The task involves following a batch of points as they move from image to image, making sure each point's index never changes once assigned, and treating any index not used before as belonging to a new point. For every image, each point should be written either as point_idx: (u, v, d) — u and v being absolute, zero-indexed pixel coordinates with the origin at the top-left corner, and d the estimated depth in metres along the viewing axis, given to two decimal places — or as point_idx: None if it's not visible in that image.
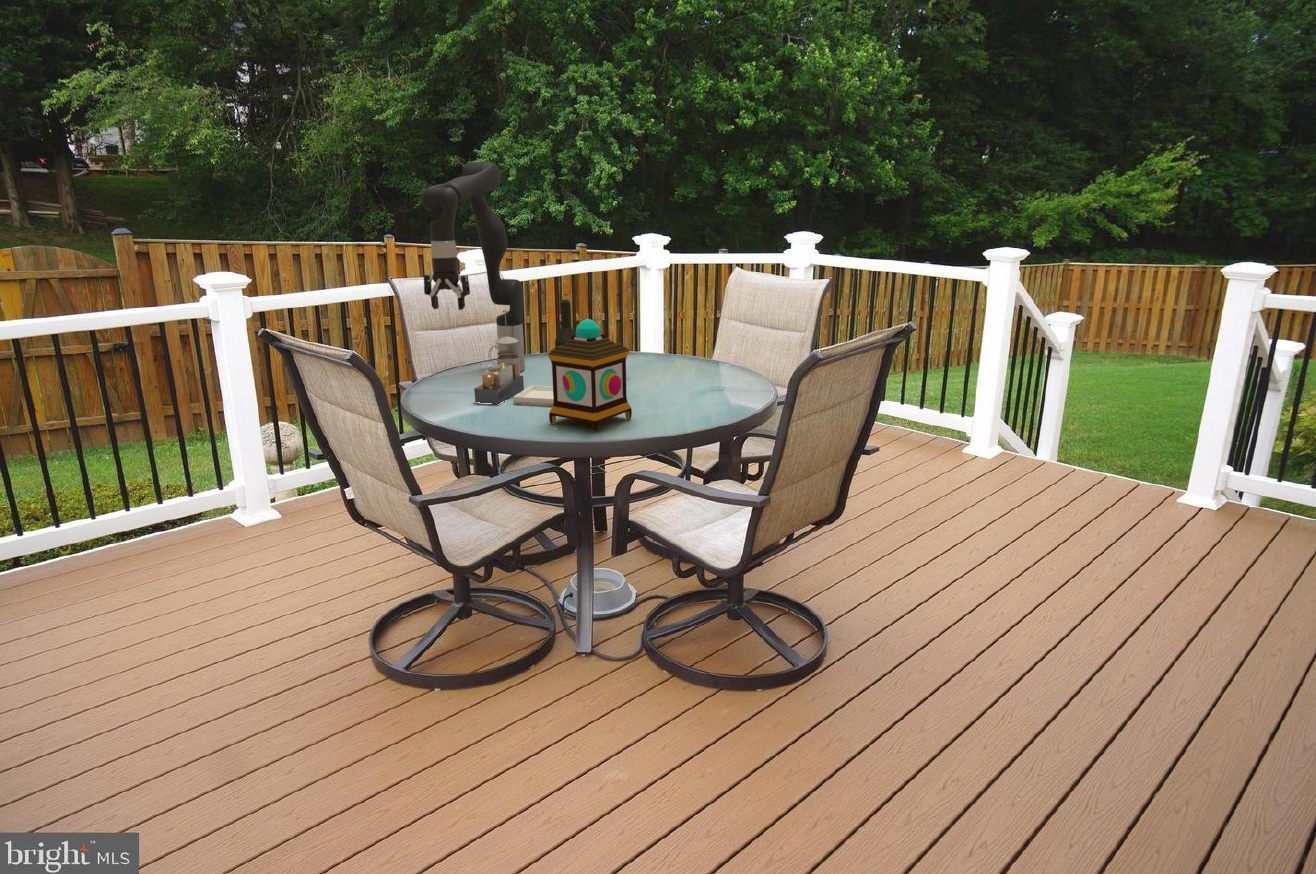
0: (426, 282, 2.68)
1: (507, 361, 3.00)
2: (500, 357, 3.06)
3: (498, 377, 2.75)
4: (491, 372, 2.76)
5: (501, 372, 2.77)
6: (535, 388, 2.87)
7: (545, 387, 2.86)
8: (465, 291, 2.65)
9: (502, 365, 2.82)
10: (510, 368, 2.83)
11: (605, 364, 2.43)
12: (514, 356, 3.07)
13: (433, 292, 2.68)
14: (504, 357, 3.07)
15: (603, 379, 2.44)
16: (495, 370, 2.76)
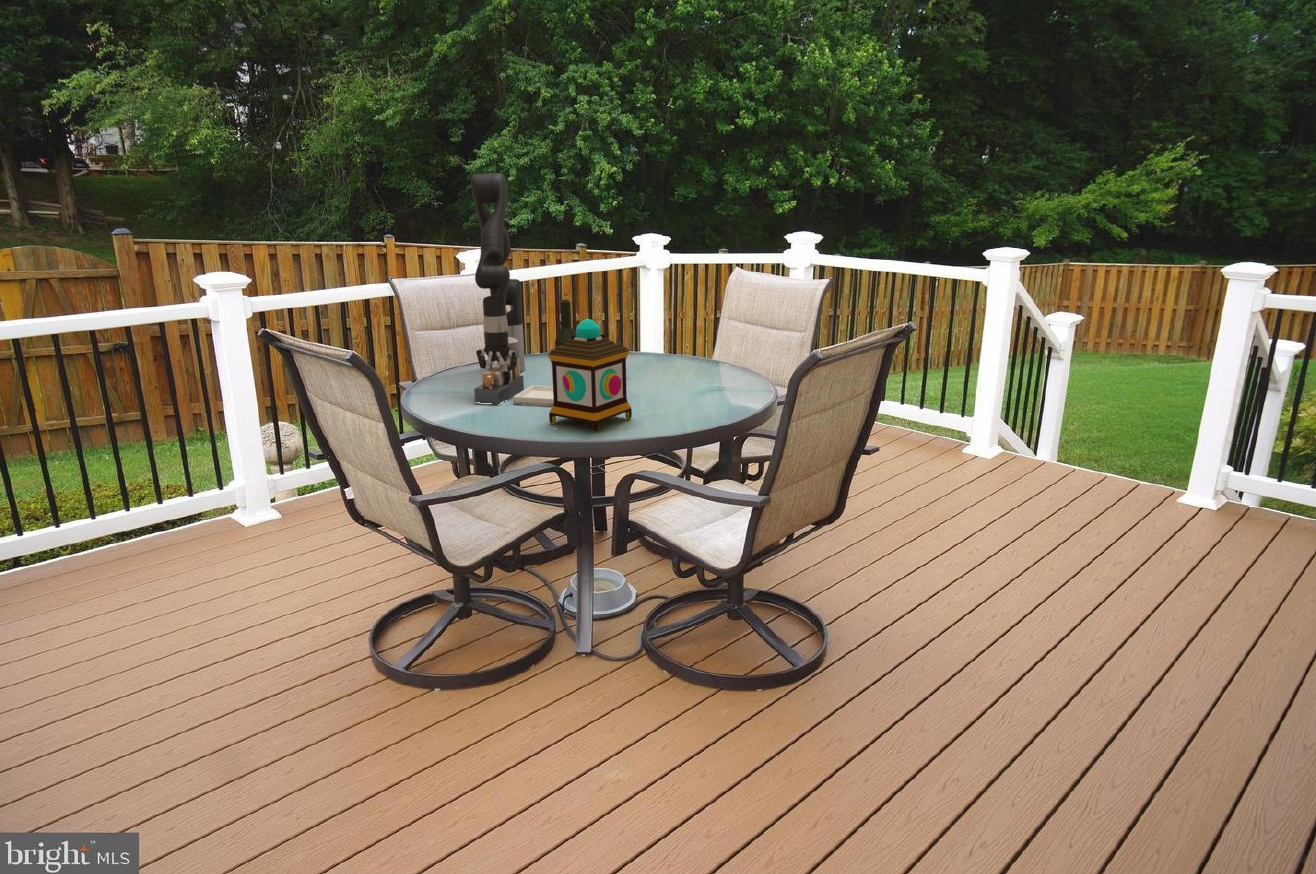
0: (479, 356, 2.79)
1: None
2: None
3: (497, 377, 2.76)
4: (491, 372, 2.76)
5: (500, 372, 2.77)
6: (535, 388, 2.87)
7: (545, 387, 2.86)
8: (511, 366, 2.77)
9: None
10: None
11: (605, 364, 2.43)
12: None
13: (488, 366, 2.79)
14: None
15: (603, 379, 2.44)
16: (494, 370, 2.76)
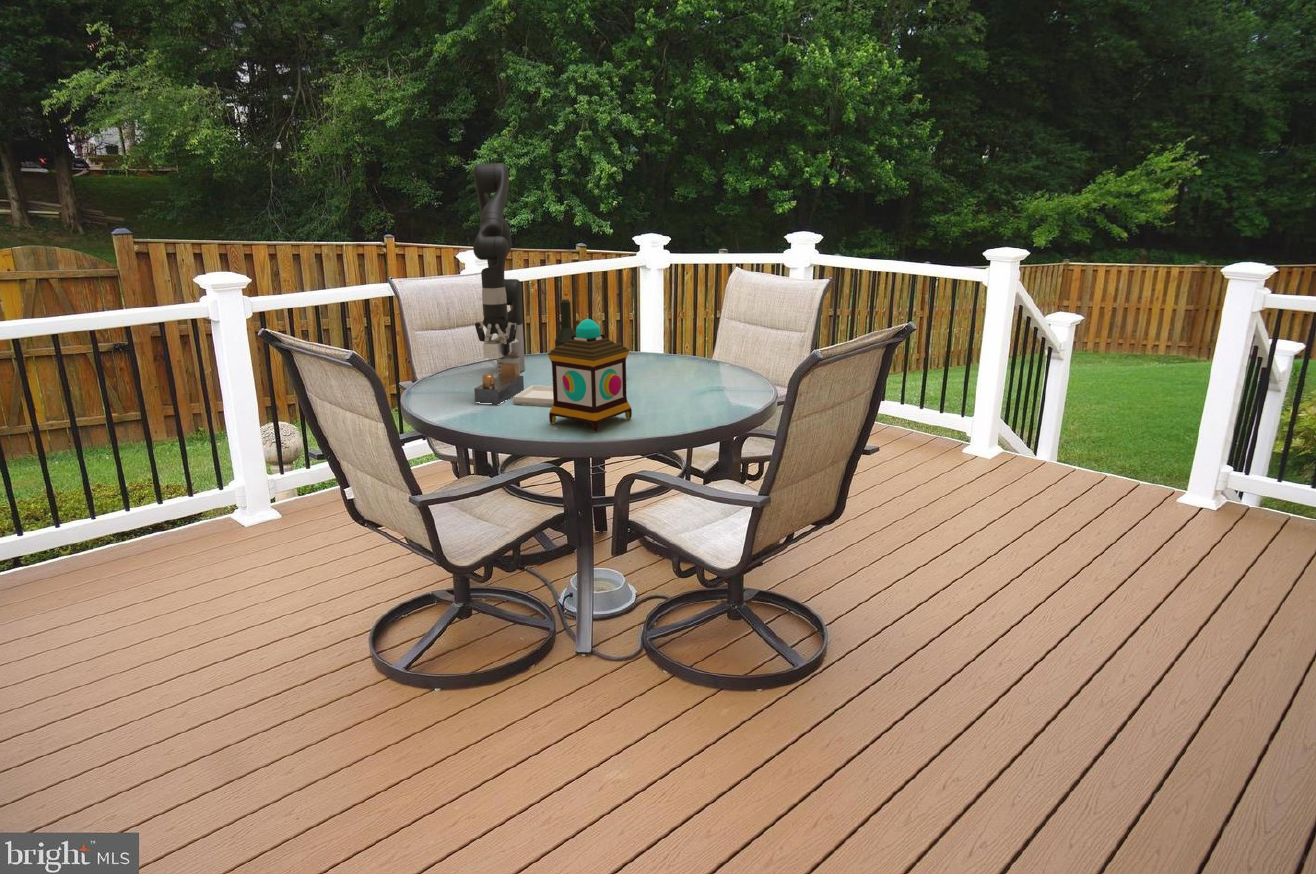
0: (478, 329, 2.77)
1: (507, 361, 3.00)
2: None
3: (497, 350, 2.73)
4: (490, 344, 2.73)
5: (500, 345, 2.74)
6: (535, 388, 2.87)
7: (545, 387, 2.86)
8: (510, 338, 2.75)
9: (501, 338, 2.79)
10: None
11: (605, 364, 2.43)
12: (514, 356, 3.07)
13: (487, 338, 2.77)
14: (504, 357, 3.07)
15: (603, 379, 2.44)
16: (493, 342, 2.73)
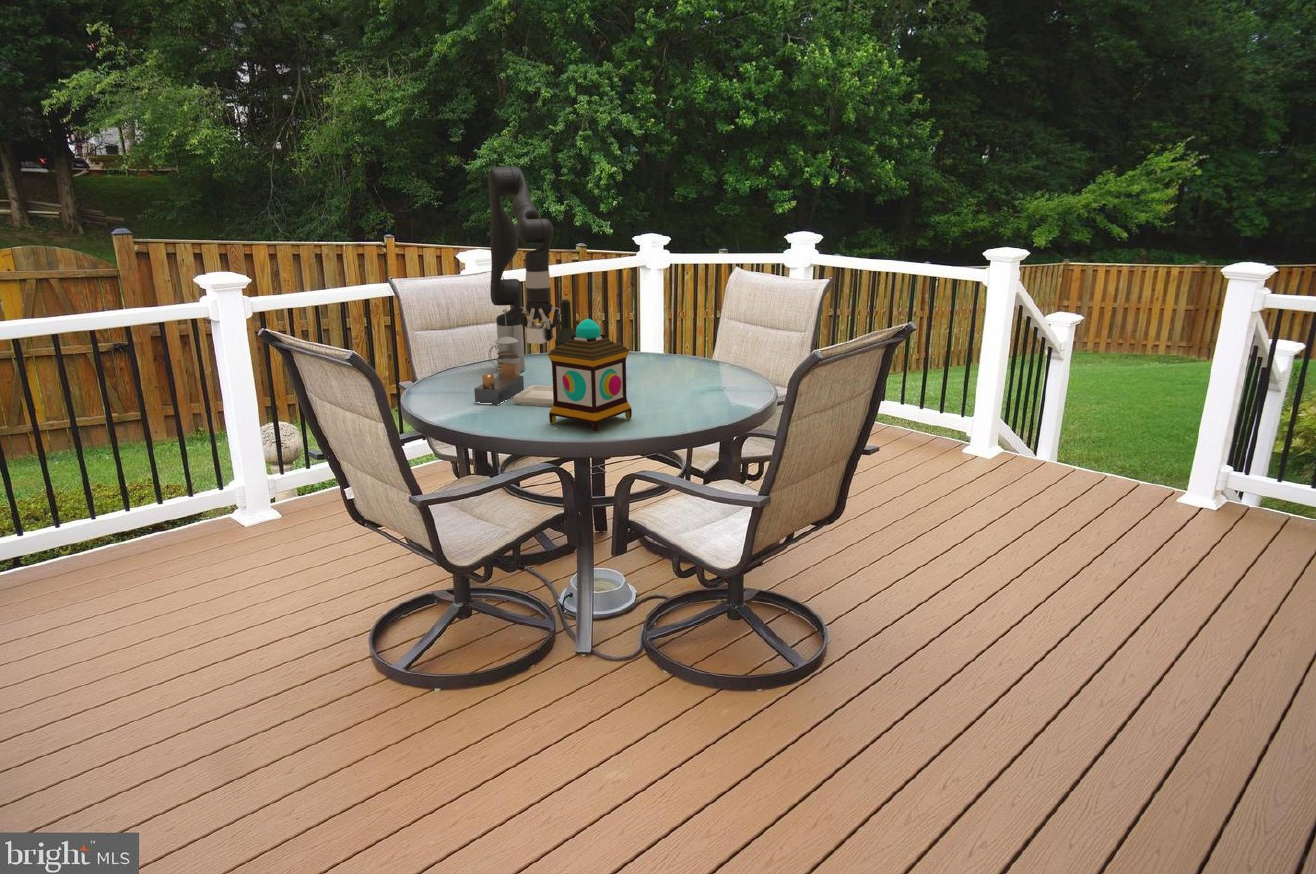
0: (521, 314, 2.72)
1: (507, 361, 3.00)
2: (500, 357, 3.06)
3: (540, 334, 2.68)
4: (533, 329, 2.68)
5: (543, 329, 2.69)
6: (535, 388, 2.87)
7: (545, 387, 2.86)
8: (554, 323, 2.70)
9: (543, 323, 2.74)
10: None
11: (605, 364, 2.43)
12: (514, 356, 3.07)
13: (530, 323, 2.72)
14: (504, 357, 3.07)
15: (603, 379, 2.44)
16: (537, 327, 2.68)
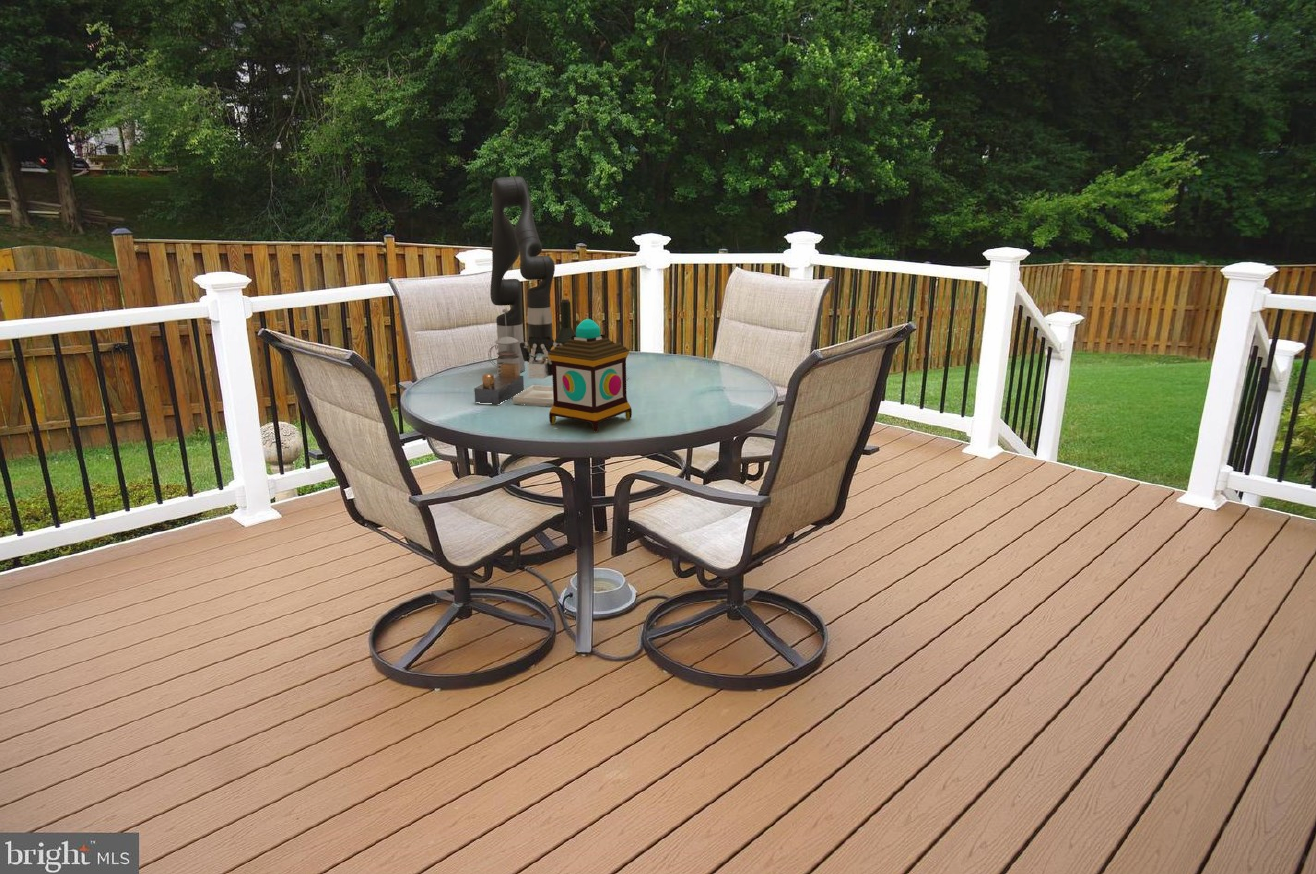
0: (523, 349, 2.75)
1: (507, 361, 3.00)
2: (500, 357, 3.06)
3: (542, 370, 2.71)
4: (535, 364, 2.71)
5: (545, 365, 2.72)
6: (535, 388, 2.87)
7: (545, 387, 2.86)
8: None
9: (545, 358, 2.77)
10: None
11: (605, 364, 2.43)
12: (514, 356, 3.07)
13: (532, 358, 2.75)
14: (504, 357, 3.07)
15: (603, 379, 2.44)
16: (539, 363, 2.71)
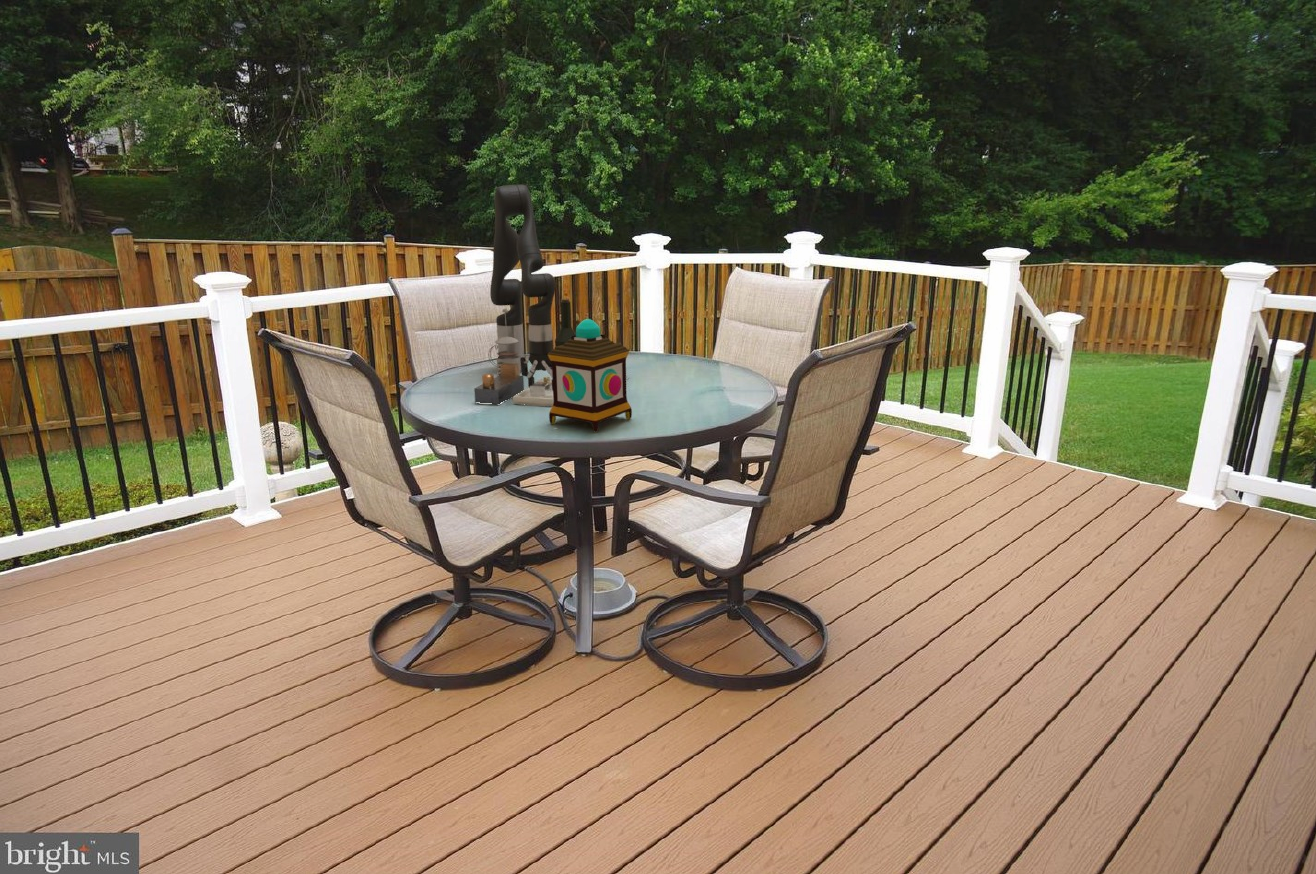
0: (523, 364, 2.76)
1: (507, 361, 3.00)
2: (500, 357, 3.06)
3: (543, 392, 2.73)
4: (537, 386, 2.73)
5: (546, 387, 2.74)
6: None
7: None
8: None
9: (546, 379, 2.79)
10: None
11: (605, 364, 2.43)
12: (514, 356, 3.07)
13: (530, 373, 2.77)
14: (504, 357, 3.07)
15: (603, 379, 2.44)
16: (540, 385, 2.73)
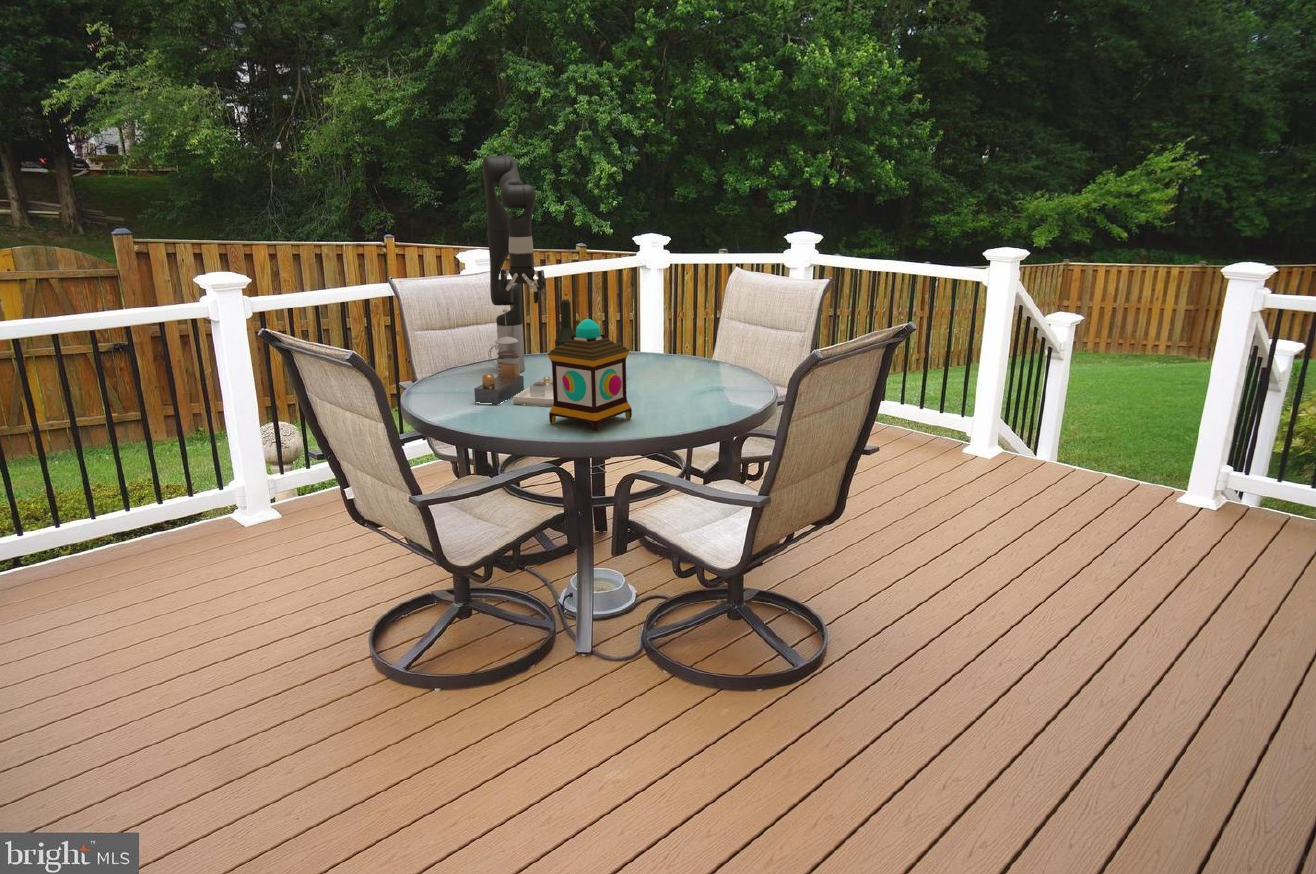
0: (503, 276, 2.77)
1: (507, 361, 3.00)
2: (500, 357, 3.06)
3: (543, 392, 2.73)
4: (537, 386, 2.73)
5: (546, 387, 2.74)
6: None
7: None
8: (541, 285, 2.75)
9: (546, 379, 2.79)
10: None
11: (605, 364, 2.43)
12: (514, 356, 3.07)
13: (509, 286, 2.77)
14: (504, 357, 3.07)
15: (603, 379, 2.44)
16: (540, 385, 2.73)
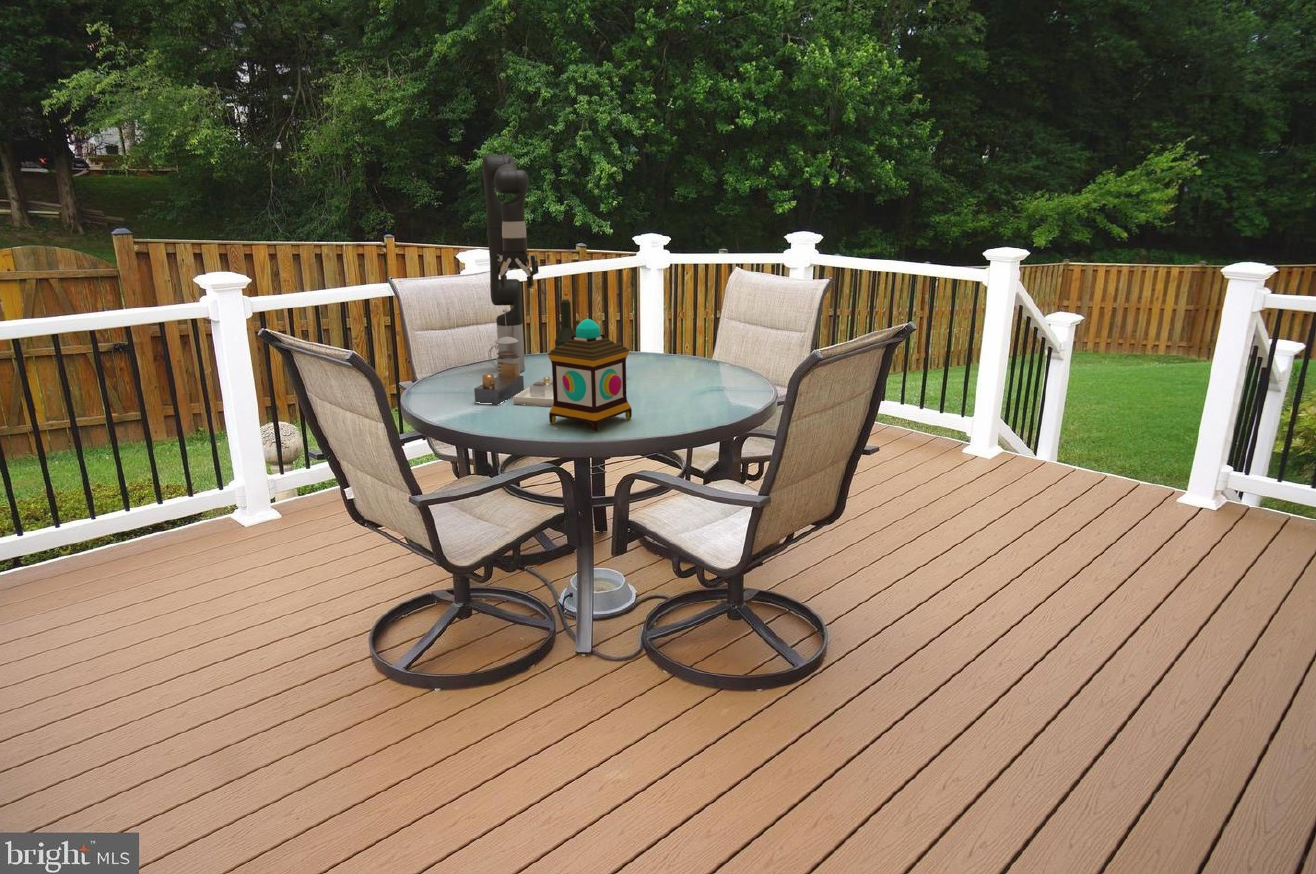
0: (496, 261, 2.78)
1: (507, 361, 3.00)
2: (500, 357, 3.06)
3: (543, 392, 2.73)
4: (537, 386, 2.73)
5: (546, 387, 2.74)
6: None
7: None
8: (534, 270, 2.76)
9: (546, 379, 2.79)
10: None
11: (605, 364, 2.43)
12: (514, 356, 3.07)
13: (503, 271, 2.79)
14: (504, 357, 3.07)
15: (603, 379, 2.44)
16: (540, 385, 2.73)
